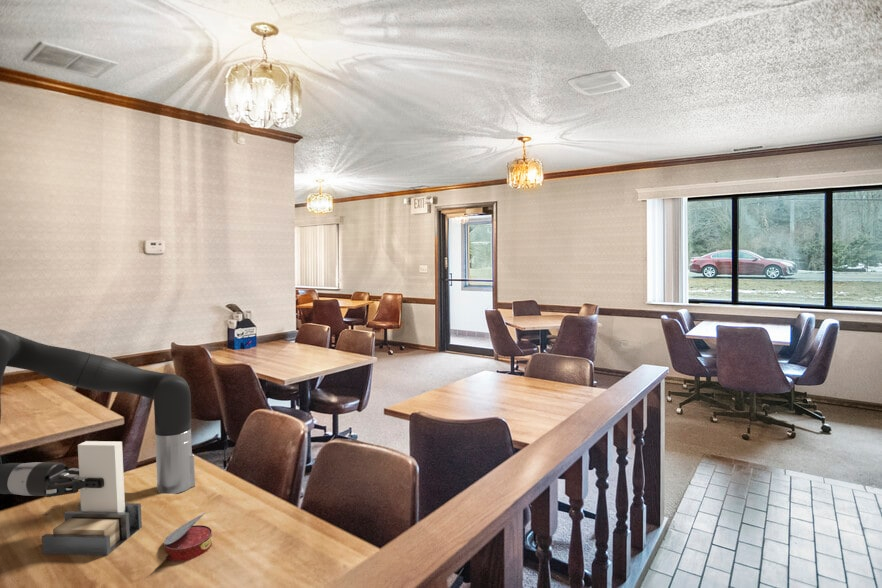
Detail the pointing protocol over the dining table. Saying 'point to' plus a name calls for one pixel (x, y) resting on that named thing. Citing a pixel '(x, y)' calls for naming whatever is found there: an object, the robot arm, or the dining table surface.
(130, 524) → the rack
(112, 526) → the offcut top
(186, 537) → the canned food
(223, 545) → the dining table surface
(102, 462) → the white rectangular board
